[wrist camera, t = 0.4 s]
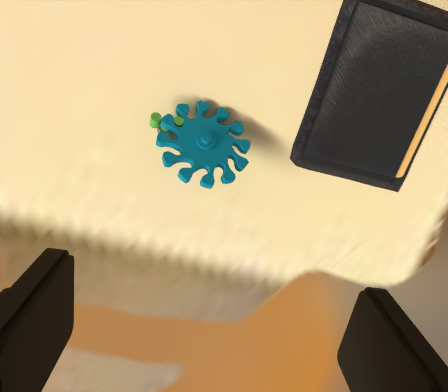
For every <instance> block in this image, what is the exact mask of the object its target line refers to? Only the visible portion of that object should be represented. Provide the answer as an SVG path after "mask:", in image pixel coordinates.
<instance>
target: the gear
mask: <svg viewBox="0 0 448 392" xmlns="http://www.w3.org/2000/svg"><path fill="white" fill-rule="evenodd" d="M208 109H209V104H207V103H205V102H202V101H199V102H198V104H197V106H196V111H197V116H196V118H195V119H189V118H187V114H188V111H189V106H188V105H187V104H179V105H177V108H176V114H177V115H178V116H177V117H175V118H174V117H173V116H172V115H171V114H167V115H165V116H164V117H163V118H162V119H161V115H160V114H159V113H156V112H155V113H152V114H151V119H150V126H151V127H152V128H157V131H158V133H159V134H158V136H157V141H156V145H157V146H159V147H171V148H174V149H176V150H177V151H179V152H180V153H181V155H175V154H173V153H171V152H164V153H163V156H162V160H163V164H164V166H165V167H171V166H172V165H174V164H175V163H179V162H187V163H190V164H191V166H192V167H191V168H182V169H180V171H179V173H178V177H179V178H180V179H181V180H182V181H183V182H184V183H187V182H189V181H190V179H191V177H192V174H193V173H194V172H196V171H197V170H199V169H206V170H207V172H208V174H206V175H204V176H203V177H202V179H201V181H200V185H201V186H202V187H205V188H209V189H211V188H212V186H213V185H214V182H215V180H214V176H213V172H214V169H215V168H216V167H220V168H222V169H223V175H222V176H221V181H222V183H223V184H228V183H231V182H233V181H234V180H235V174H234V173H233V172H232V171H231V169H230V168H229V165H228V158H230V159H232V160H233V161H234V165H235V169H236V170H237V171H239V172H240V171H242V170H243V169H244V168H245V167H246V165H247V164H248V163H249V162H248V160H247V159H245V158H243V157H241V156H239V155H238V154H237V153H236V152H235V151H234V150H233V148H232V146H236V147H237V148H238V150H239V151H240V152H241V153H243V154H246V153H247V151H248V150H249V148H250V141H249V140H239V139H236V138H234V137H232V136H230V135H229V134H228V132H231V133H233V134H234V135H237V136H238V135H241V134H242V132H243V126H242V124H241V122H239V121H236V122H235V123H233V124H231V125H220V124H218V122H217V121H226V120H227V118H228V116H229V113H228V112H227V111H226V110H225V109H224V108H223V107H221V108H219V109H218V111H217V113H216V115H215V116H213V117H211V118H209V119H206V118H204V117H203V116H202V115H204V114H206V113H207V111H208Z"/></svg>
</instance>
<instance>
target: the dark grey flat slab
mask: <svg viewBox="0 0 448 392" xmlns="http://www.w3.org/2000/svg"><path fill="white" fill-rule="evenodd" d="M447 88H448V11H445V10H442V9H440V8H437V7H434V6H432V5H429V4H426V3H423V2H421V1H418V0H343V3H342V6H341V9H340V12H339V14H338V17H337V20H336V23H335V26H334V29H333V32H332V35H331V38H330V41H329V44H328V47H327V51H326V54H325V57H324V60H323V63H322V66H321V69H320V72H319V75H318V78H317V81H316V84H315V86H314V89H313V92H312V95H311V98H310V100H309V103H308V106H307V109H306V112H305V114H304V117H303V120H302V123H301V125H300V128H299V131H298V133H297V136H296V139H295V141H294V144H293V148H292V152H291V156H290V159H291V160H292V162H293V163H294V164H295V165H296V166H298V167H302V168H305V169H308V170H312V171H316V172H320V173H324V174H329V175H333V176H337V177H341V178H345V179H349V180H353V181H357V182H360V183H364V184H368V185H371V186H375V187H380V188H384V189H388V190H392V191H396V192H398V191H399V189H400V187H401V185H402V183H403V182H404V180H405V178H406V176H407V173H408V171H409V169H410V166H411V164H412V162H413V159H414V157H415V155H416V153H417V151H418V149H419V147H420V145H421V142H422V140H423V138H424V136H425V134H426V132H427V130H428V128H429V126H430V123H431V121H432V119H433V117H434V115H435V113H436V111H437V109H438V107H439V104H440V102H441V100H442V98H443V96H444V94H445V92H446V90H447Z"/></svg>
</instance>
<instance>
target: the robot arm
mask: <svg viewBox="0 0 448 392" xmlns="http://www.w3.org/2000/svg"><path fill="white" fill-rule="evenodd" d="M73 317H74V256H72V255H69V253H68V251H67V250H62V249H54V248H47V249H46V250H45V251H44V252H43V253H42V254H41V255H40V256H39V257H38V258H37V259H36V260H35V261H34V262H33V264H32V265H31V266H30V267H29V268H28V269H27V270H26V271H25V272H24V273H23V274H22V276H21V277H20V278H19V279H18V280H17V281H16V282H15V283H14V284H13V285H12V286H11V287H10V288H6V289H4V290H3V291H1V292H0V392H41V391H42V389H43V387H44V386H45V384H46V382H47V380H48V378H49V376H50V374H51V372H52V370H53V369H54V367H55V365H56V363H57V361H58V359H59V357H60V355H61V353H62V351H63V350H64V348H65V346H66V344H67V342H68V340H69V338H70V336H71V333H72V330H73V323H74V318H73ZM337 359H338V363H339V366H340V368H341V371H342V373H343V375H344V377H345V380H346V382H347V384H348V387H349V389H350V391H351V392H448V367H447V365H446V364H445V363H444V361H443V360H442V359H441V358H440V357H439V355H438V354H437V353H436V352H435V350H434V349H433V348H432V347H431V345H430V344H429V343H428V341H427V340H426V339H425V338H424V336H423V335H422V334H421V333H420V331H419V330H418V329H417V327H416V326H415V325H414V324H413V322H412V321H411V320H410V319H409V317H408V316H407V315H406V314H405V312H404V311H403V310H402V309H401V307H400V306H399V305H398V304H397V303H396V301H395V300H394V299H393V297H392V296H391V295H390V294H389V293H388V291H387V290H386V289H380V288H372V287H367V288H366V289H365V290H364V291H361V292H360V293H359V295H358V299H357V301H356V304H355V306H354V309H353V312H352V314H351V317H350V320H349V323H348V325H347V329H346V331H345V334H344V336H343V339H342V342H341V344H340V347H339V350H338V354H337Z"/></svg>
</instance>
